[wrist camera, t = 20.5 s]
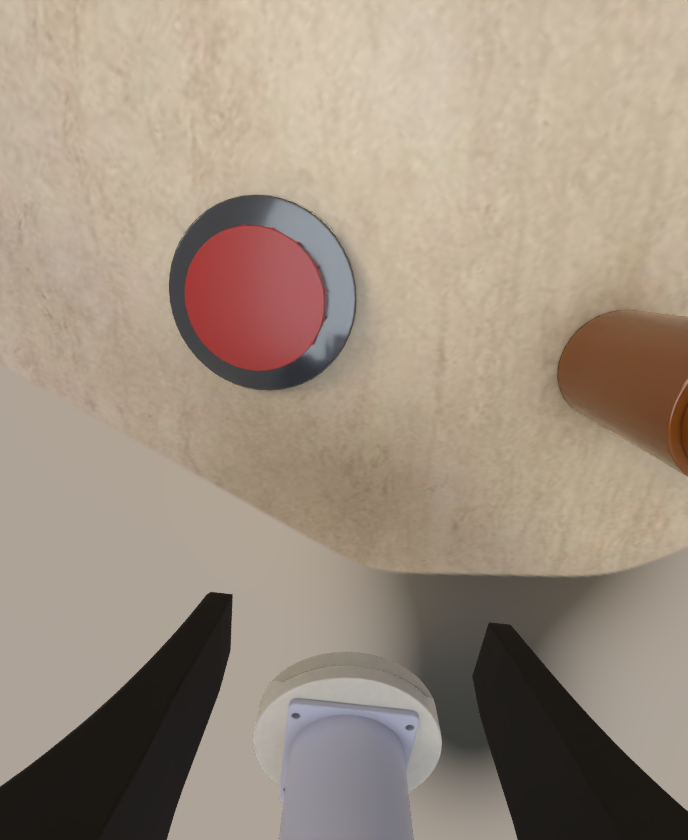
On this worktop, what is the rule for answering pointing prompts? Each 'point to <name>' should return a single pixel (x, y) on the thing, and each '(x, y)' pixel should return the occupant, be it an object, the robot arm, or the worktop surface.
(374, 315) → the worktop surface
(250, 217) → the coaster
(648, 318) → the jar
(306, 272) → the lid
